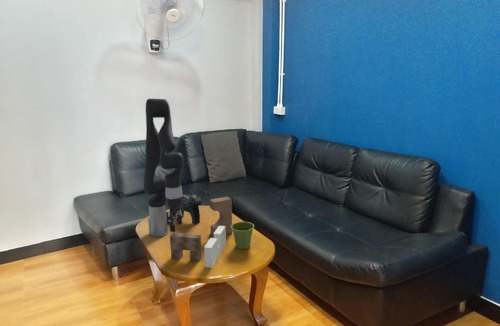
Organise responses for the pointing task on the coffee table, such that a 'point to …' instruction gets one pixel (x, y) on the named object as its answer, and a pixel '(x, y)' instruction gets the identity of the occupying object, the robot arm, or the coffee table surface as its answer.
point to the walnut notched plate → (185, 246)
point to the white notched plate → (215, 246)
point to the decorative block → (222, 213)
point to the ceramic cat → (192, 206)
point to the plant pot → (242, 234)
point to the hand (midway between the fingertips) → (176, 228)
